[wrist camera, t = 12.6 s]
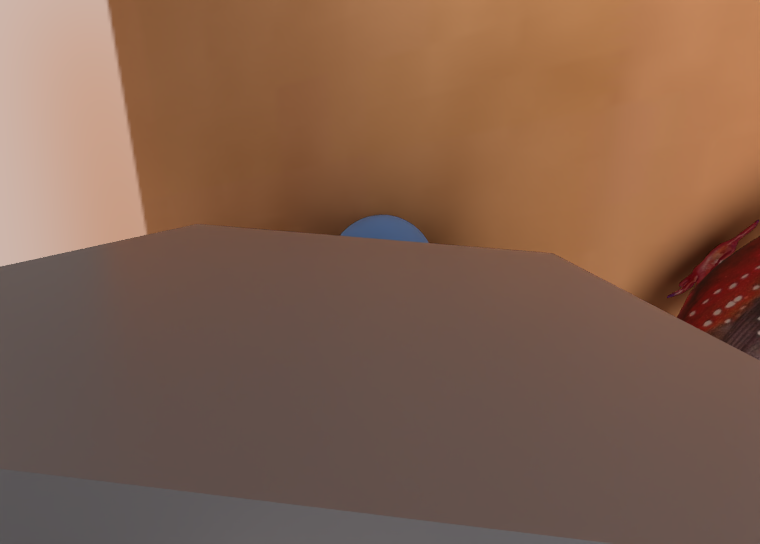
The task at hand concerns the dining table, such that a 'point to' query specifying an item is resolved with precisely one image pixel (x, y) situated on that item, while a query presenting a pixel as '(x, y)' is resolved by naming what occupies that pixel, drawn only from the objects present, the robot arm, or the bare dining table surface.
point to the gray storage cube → (361, 399)
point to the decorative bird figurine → (727, 294)
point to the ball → (385, 229)
